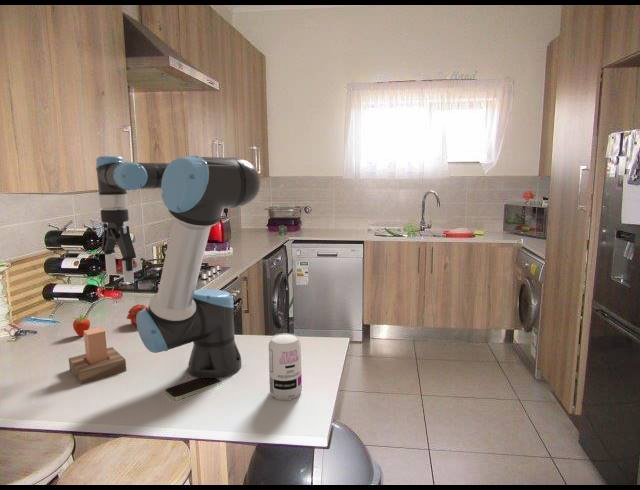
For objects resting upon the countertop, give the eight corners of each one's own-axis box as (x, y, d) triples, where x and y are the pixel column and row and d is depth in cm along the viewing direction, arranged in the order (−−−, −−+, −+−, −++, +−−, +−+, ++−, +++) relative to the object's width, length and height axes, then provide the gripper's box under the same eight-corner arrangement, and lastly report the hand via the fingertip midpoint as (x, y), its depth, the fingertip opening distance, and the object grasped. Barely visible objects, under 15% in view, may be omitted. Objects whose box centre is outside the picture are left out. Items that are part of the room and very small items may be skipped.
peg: (108, 370, 127) (105, 331, 125) (91, 375, 124) (87, 334, 122) (103, 365, 130) (100, 327, 128) (87, 369, 127) (83, 330, 125)
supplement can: (285, 382, 119) (284, 330, 116) (308, 392, 113) (307, 337, 111) (263, 394, 112) (261, 339, 110) (286, 405, 107) (285, 347, 105)
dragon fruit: (131, 325, 168) (154, 334, 164) (116, 319, 161) (141, 328, 157) (142, 305, 171) (165, 313, 167) (128, 298, 164) (152, 306, 160)
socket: (126, 370, 127) (125, 359, 126) (80, 383, 119) (79, 371, 118) (113, 357, 135) (112, 347, 135) (69, 369, 127) (68, 358, 127)
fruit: (79, 333, 157) (77, 311, 155) (93, 333, 156) (91, 311, 155) (70, 338, 151) (68, 316, 150) (85, 338, 151) (83, 316, 150)
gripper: (144, 210, 125) (149, 282, 128) (111, 206, 142) (116, 269, 145) (117, 211, 119) (123, 286, 123) (86, 207, 137) (92, 273, 140)
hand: (120, 277), depth 134 cm, fingers open, 13 cm apart
